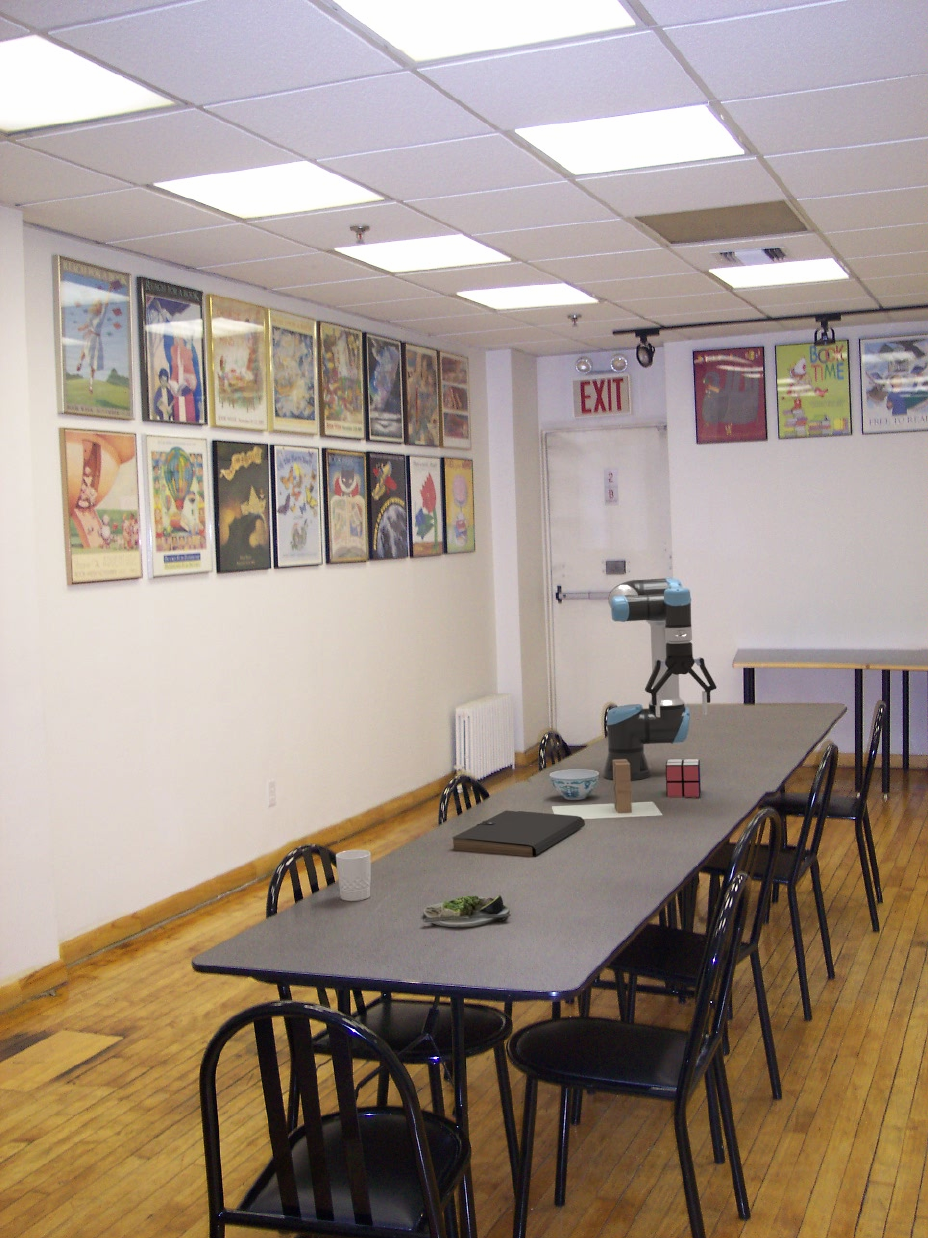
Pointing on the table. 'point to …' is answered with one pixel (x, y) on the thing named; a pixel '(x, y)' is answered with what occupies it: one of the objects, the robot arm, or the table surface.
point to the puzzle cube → (683, 778)
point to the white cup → (354, 874)
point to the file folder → (518, 833)
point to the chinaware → (574, 782)
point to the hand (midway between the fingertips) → (681, 715)
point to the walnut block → (622, 786)
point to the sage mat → (607, 810)
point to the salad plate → (467, 912)
